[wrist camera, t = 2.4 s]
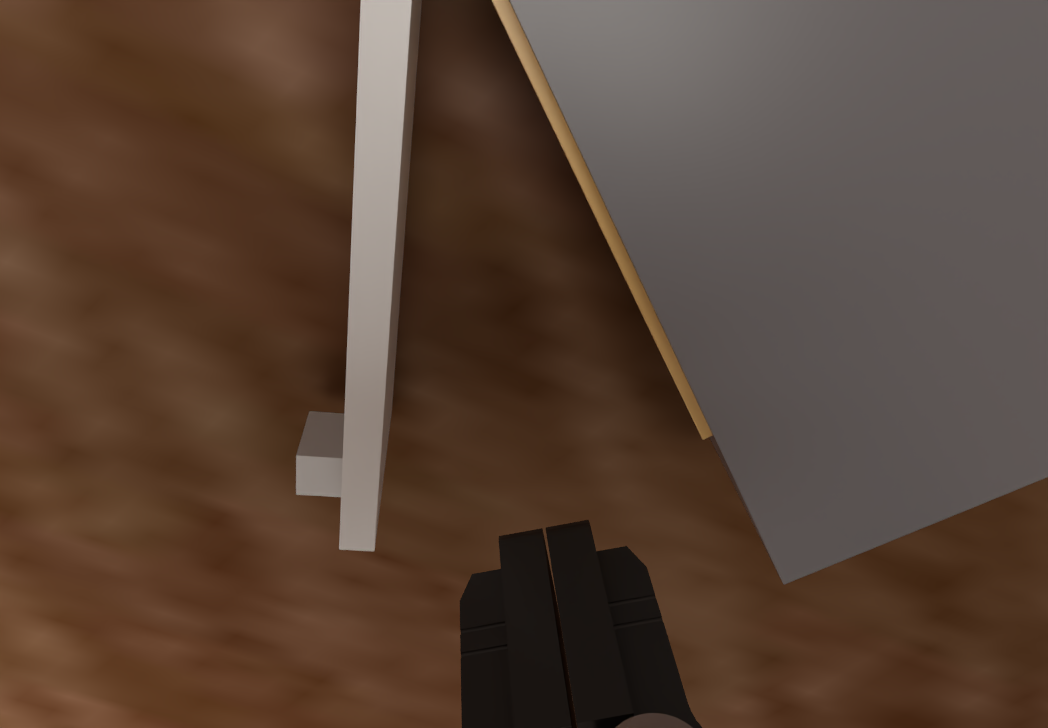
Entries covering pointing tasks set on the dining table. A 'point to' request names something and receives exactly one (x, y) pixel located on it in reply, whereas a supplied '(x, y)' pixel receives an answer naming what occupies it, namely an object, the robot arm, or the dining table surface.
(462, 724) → the robot arm
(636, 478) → the dining table surface
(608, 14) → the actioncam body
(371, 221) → the side door
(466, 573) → the dining table surface
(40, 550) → the dining table surface
